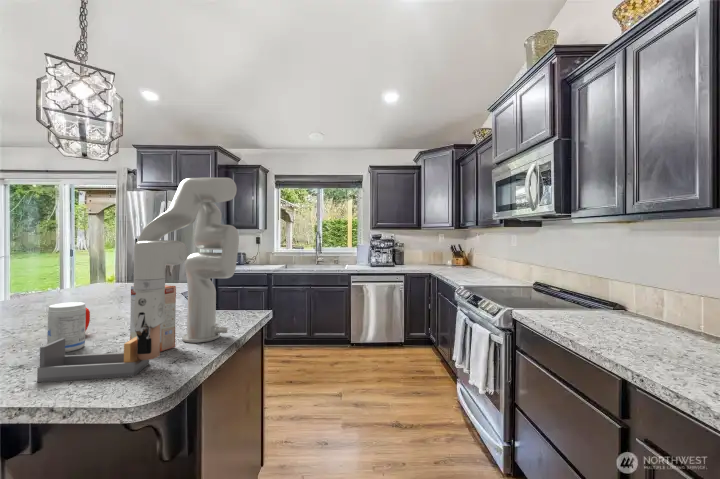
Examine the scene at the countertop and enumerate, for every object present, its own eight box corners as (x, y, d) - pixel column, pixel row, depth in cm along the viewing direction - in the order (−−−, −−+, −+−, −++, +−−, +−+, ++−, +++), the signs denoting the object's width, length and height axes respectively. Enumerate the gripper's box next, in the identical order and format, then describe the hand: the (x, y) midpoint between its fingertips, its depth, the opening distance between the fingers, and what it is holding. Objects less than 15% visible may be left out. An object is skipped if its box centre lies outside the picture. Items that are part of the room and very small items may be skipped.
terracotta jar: (163, 352, 99) (164, 317, 99) (155, 359, 93) (156, 322, 93) (141, 353, 98) (142, 318, 98) (132, 360, 92) (132, 322, 92)
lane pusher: (141, 360, 98) (141, 336, 98) (129, 369, 91) (130, 343, 91) (135, 361, 98) (136, 336, 98) (123, 370, 91) (124, 343, 91)
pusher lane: (149, 363, 100) (149, 334, 100) (133, 376, 90) (134, 343, 90) (62, 368, 95) (63, 337, 95) (37, 382, 86) (37, 348, 86)
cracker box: (176, 347, 115) (177, 285, 115) (160, 352, 109) (161, 287, 110) (145, 343, 120) (146, 283, 120) (129, 348, 114) (129, 285, 114)
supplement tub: (44, 349, 112) (45, 304, 112) (81, 343, 119) (82, 300, 119) (50, 355, 106) (50, 308, 106) (88, 348, 113) (89, 304, 113)
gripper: (152, 289, 88) (151, 359, 88) (174, 281, 105) (174, 340, 104) (119, 289, 86) (118, 361, 86) (147, 281, 103) (147, 341, 103)
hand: (149, 349), depth 95 cm, fingers closed on terracotta jar, 5 cm apart
